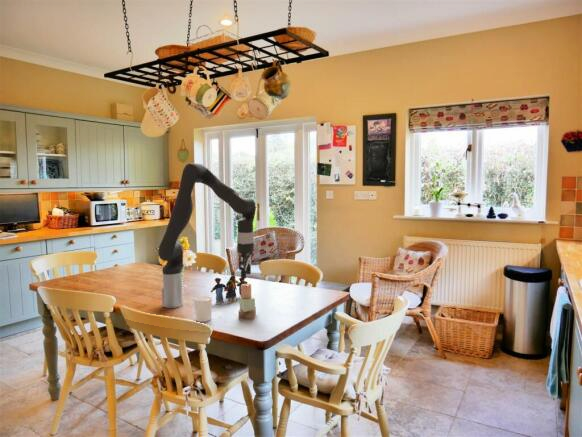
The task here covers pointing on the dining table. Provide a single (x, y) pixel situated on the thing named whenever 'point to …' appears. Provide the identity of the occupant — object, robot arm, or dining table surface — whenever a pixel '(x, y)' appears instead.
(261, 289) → the dining table surface
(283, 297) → the dining table surface
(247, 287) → the terracotta cylinder
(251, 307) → the sage cube
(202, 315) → the white cup
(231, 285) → the doll family
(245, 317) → the walnut base
